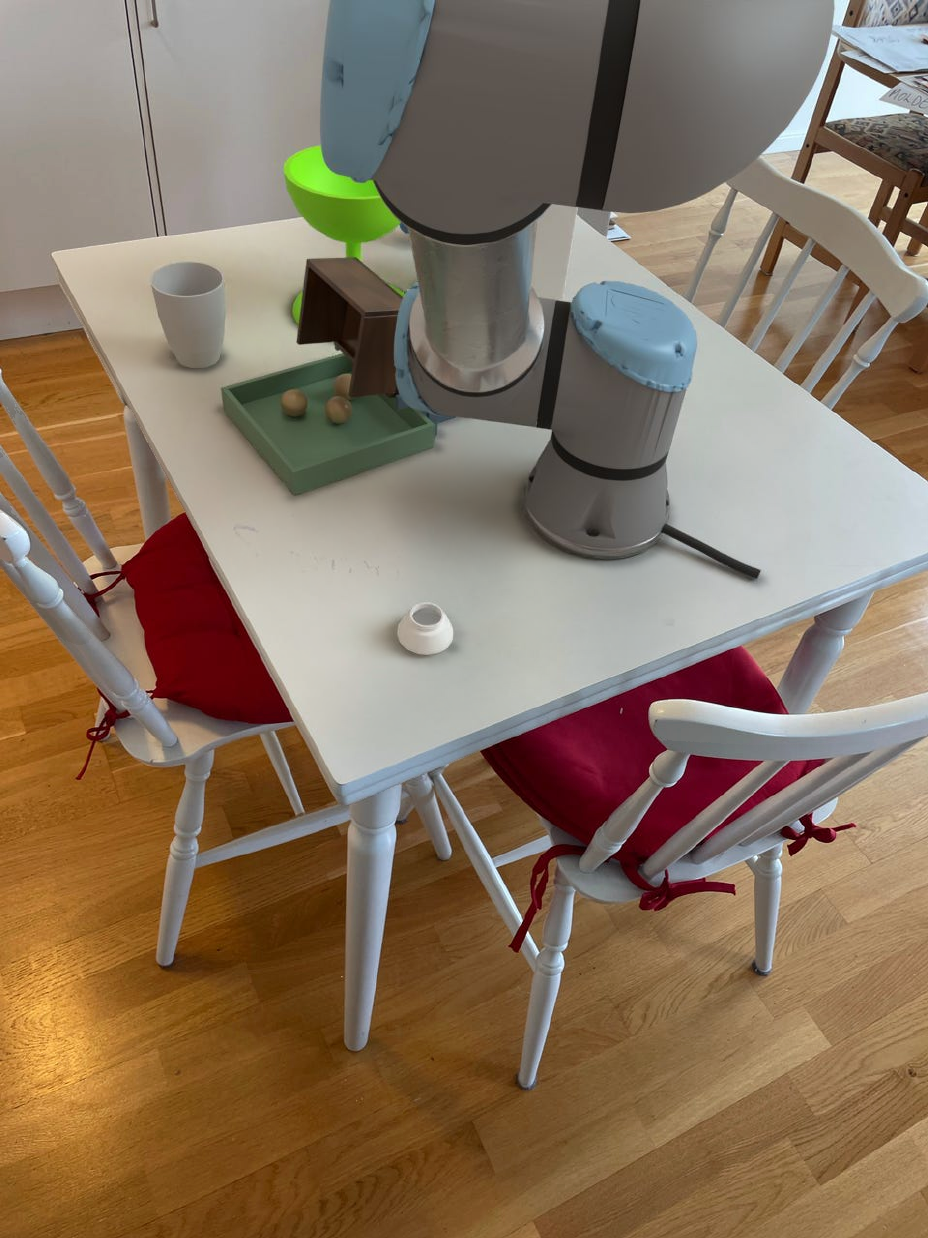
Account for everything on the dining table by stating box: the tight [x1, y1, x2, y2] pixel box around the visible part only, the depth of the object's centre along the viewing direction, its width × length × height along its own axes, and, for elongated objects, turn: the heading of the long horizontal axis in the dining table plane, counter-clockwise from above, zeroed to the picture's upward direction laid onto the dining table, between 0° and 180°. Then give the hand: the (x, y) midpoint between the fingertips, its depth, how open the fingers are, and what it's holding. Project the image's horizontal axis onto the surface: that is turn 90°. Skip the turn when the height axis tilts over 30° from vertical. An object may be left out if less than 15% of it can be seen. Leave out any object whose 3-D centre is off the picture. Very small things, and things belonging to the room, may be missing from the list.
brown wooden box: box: [296, 257, 403, 398], centre depth 101 cm, size 12×10×6 cm
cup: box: [149, 261, 227, 369], centre depth 111 cm, size 8×8×10 cm
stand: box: [334, 345, 457, 436], centre depth 109 cm, size 14×10×7 cm
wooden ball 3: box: [325, 396, 352, 424], centre depth 106 cm, size 3×3×3 cm
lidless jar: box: [396, 601, 454, 656], centre depth 86 cm, size 5×3×5 cm
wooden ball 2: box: [333, 374, 355, 401], centre depth 109 cm, size 3×3×3 cm
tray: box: [220, 352, 436, 496], centre depth 106 cm, size 17×17×3 cm
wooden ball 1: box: [280, 389, 308, 417], centre depth 107 cm, size 3×3×3 cm
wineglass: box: [283, 144, 405, 325], centre depth 118 cm, size 16×16×18 cm
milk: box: [531, 204, 579, 301], centre depth 119 cm, size 6×6×22 cm
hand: (515, 161), depth 96 cm, fingers closed
